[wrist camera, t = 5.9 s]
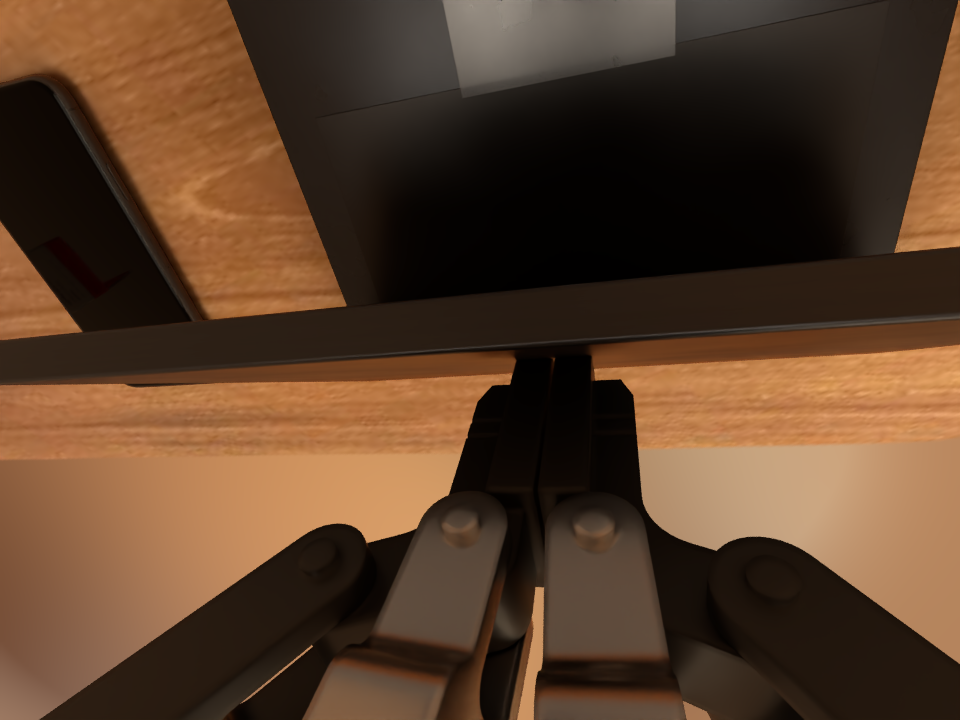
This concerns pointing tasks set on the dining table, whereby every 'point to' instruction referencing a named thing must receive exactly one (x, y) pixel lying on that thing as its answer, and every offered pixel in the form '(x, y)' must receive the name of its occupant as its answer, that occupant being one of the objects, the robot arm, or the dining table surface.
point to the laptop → (594, 133)
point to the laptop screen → (534, 328)
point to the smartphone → (80, 216)
